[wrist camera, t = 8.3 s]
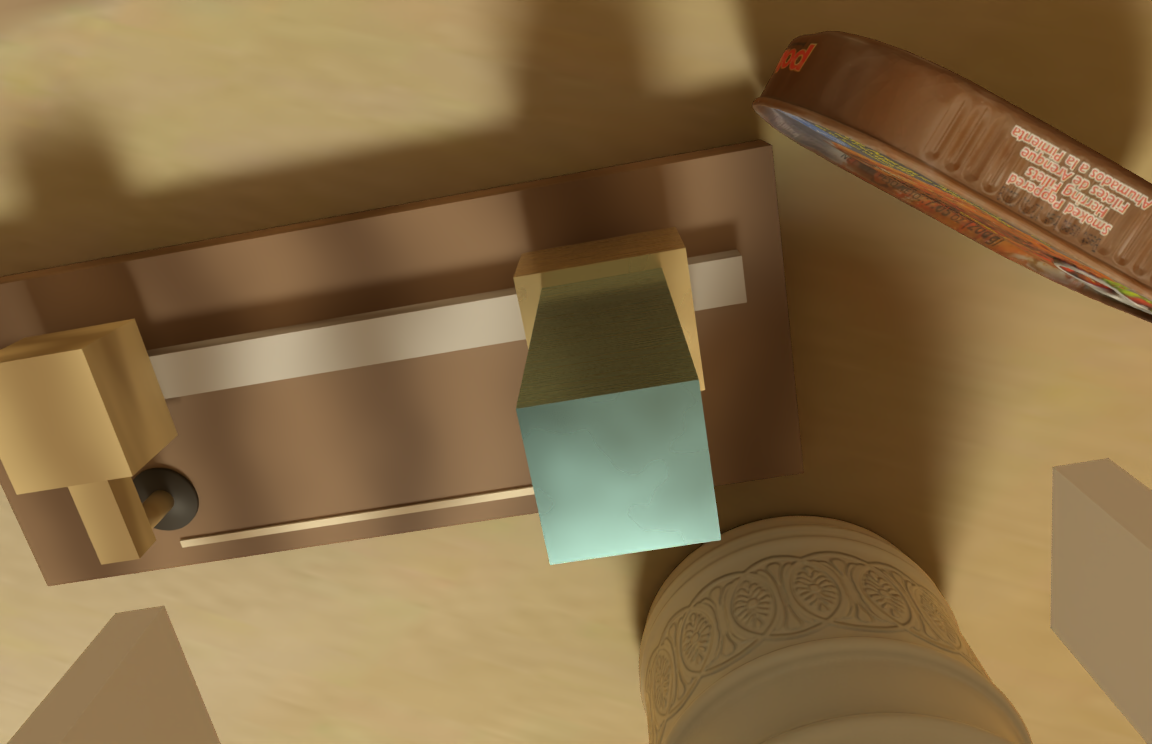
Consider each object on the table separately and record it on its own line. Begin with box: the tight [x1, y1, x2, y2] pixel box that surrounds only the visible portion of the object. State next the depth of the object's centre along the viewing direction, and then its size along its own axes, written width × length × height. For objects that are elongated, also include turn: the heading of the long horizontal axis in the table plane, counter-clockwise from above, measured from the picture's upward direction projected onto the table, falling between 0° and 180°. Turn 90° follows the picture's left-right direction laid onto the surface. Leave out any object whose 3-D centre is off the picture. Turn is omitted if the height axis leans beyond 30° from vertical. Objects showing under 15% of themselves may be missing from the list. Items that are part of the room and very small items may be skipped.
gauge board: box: [0, 140, 804, 586], centre depth 30 cm, size 30×12×6 cm, turn 100°
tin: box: [752, 31, 1152, 323], centre depth 26 cm, size 15×3×8 cm, turn 63°
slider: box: [513, 227, 721, 565], centre depth 23 cm, size 5×8×13 cm, turn 10°
